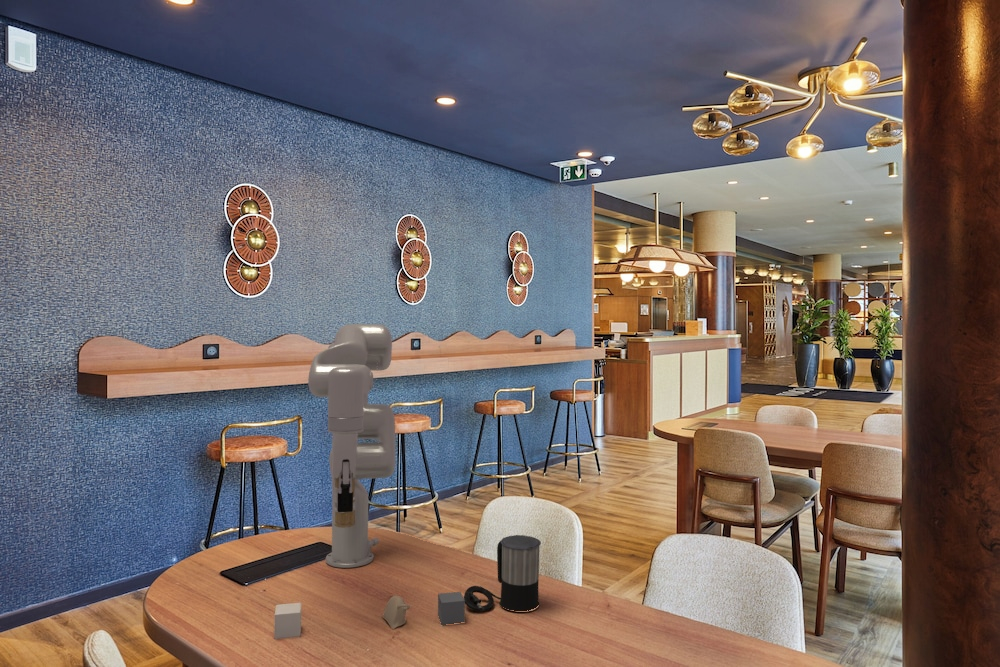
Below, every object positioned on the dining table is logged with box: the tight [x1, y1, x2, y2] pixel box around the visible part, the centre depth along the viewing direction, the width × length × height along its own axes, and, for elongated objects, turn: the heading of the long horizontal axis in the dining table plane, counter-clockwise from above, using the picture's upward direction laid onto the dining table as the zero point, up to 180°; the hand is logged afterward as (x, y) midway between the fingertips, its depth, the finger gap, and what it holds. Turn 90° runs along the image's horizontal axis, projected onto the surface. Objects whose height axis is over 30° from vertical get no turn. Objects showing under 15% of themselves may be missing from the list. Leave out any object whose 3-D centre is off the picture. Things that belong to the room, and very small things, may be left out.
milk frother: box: [463, 534, 542, 612], centre depth 152 cm, size 14×16×15 cm
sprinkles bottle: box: [334, 462, 356, 528], centre depth 145 cm, size 5×5×14 cm
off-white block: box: [273, 602, 302, 640], centre depth 138 cm, size 5×5×5 cm
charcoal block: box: [437, 591, 466, 626], centre depth 145 cm, size 5×5×5 cm
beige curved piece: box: [381, 595, 411, 630], centre depth 143 cm, size 4×8×5 cm, turn 27°
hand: (344, 507), depth 145 cm, fingers closed on sprinkles bottle, 4 cm apart
